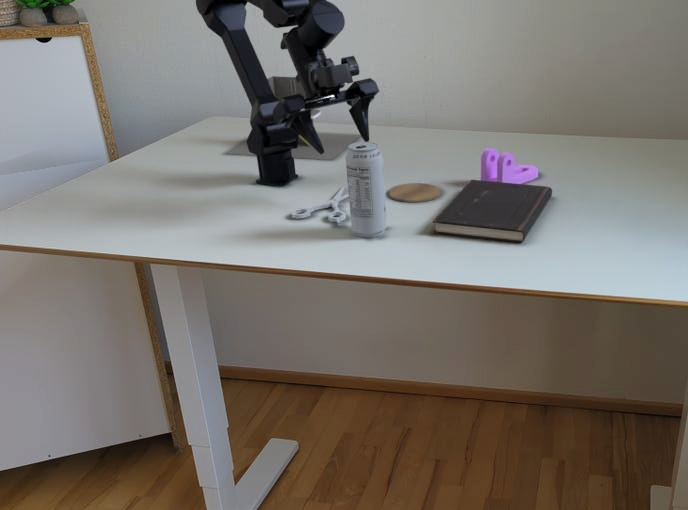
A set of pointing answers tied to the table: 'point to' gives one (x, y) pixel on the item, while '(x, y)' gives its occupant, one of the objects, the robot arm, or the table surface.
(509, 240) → the hardcover book
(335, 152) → the architectural model
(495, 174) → the bracket
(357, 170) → the energy drink can
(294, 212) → the scissors
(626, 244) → the table surface
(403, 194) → the coaster
